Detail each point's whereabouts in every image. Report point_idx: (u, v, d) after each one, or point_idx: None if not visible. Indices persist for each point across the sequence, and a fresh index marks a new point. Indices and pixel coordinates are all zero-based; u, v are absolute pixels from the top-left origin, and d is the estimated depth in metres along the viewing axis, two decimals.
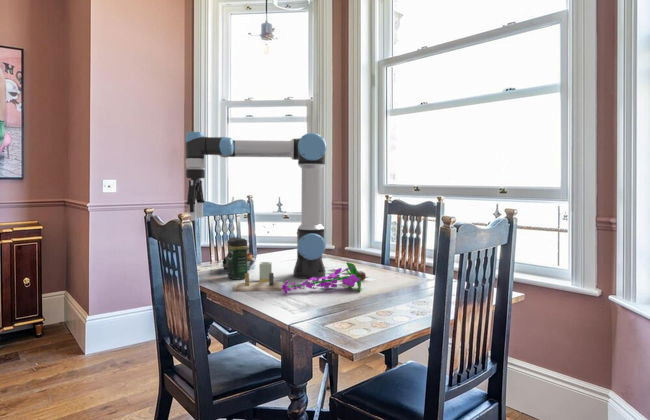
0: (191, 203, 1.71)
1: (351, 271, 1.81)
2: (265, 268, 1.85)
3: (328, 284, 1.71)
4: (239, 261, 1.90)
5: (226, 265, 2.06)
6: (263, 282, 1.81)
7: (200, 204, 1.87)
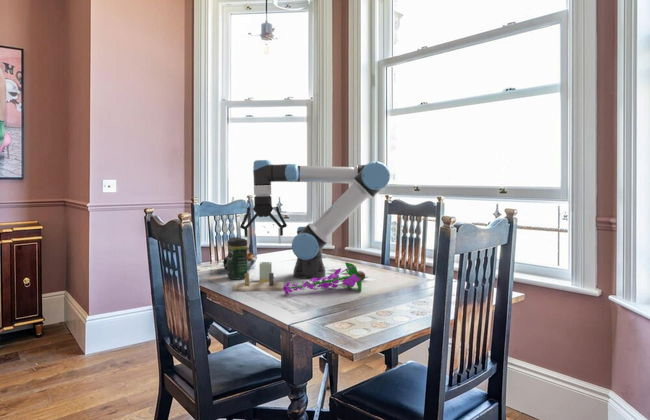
0: (242, 228, 1.85)
1: (350, 271, 1.80)
2: (265, 268, 1.85)
3: (329, 284, 1.70)
4: (239, 261, 1.90)
5: (227, 265, 2.06)
6: (263, 282, 1.81)
7: (278, 230, 1.87)
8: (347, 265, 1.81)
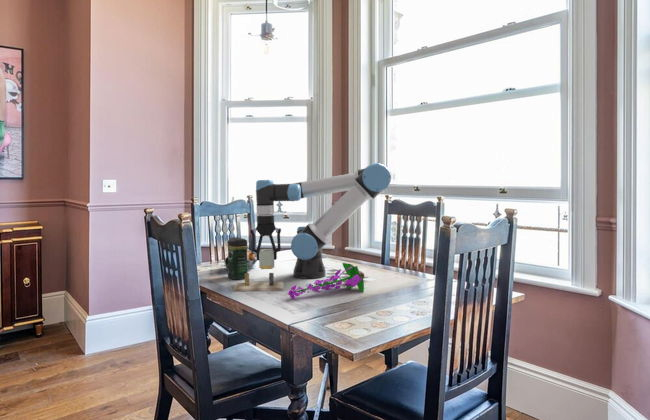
0: None
1: (347, 272, 1.80)
2: (266, 255, 1.85)
3: (332, 286, 1.67)
4: (239, 261, 1.90)
5: None
6: (263, 282, 1.81)
7: (272, 254, 1.87)
8: (345, 266, 1.80)
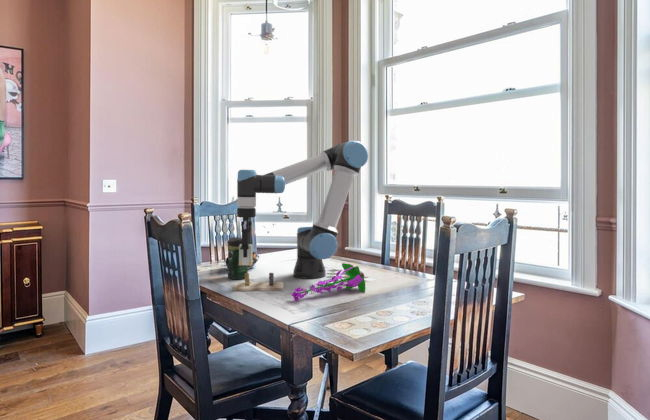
0: (245, 248, 1.69)
1: (347, 272, 1.79)
2: None
3: (334, 286, 1.66)
4: None
5: None
6: (263, 282, 1.81)
7: None
8: (344, 266, 1.79)
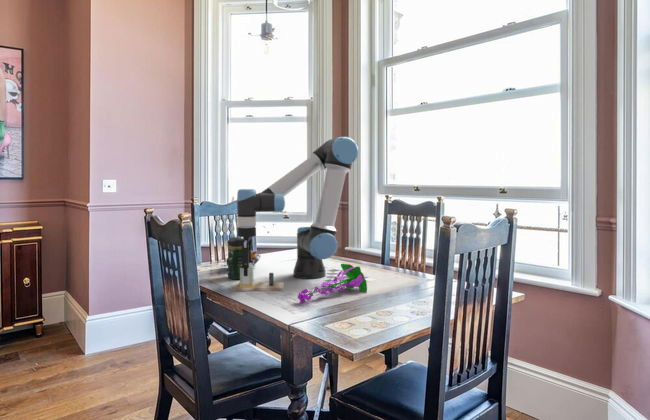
0: (245, 267, 1.68)
1: (346, 272, 1.78)
2: None
3: (337, 287, 1.65)
4: (239, 261, 1.90)
5: None
6: (263, 282, 1.81)
7: (249, 264, 1.80)
8: (343, 266, 1.78)
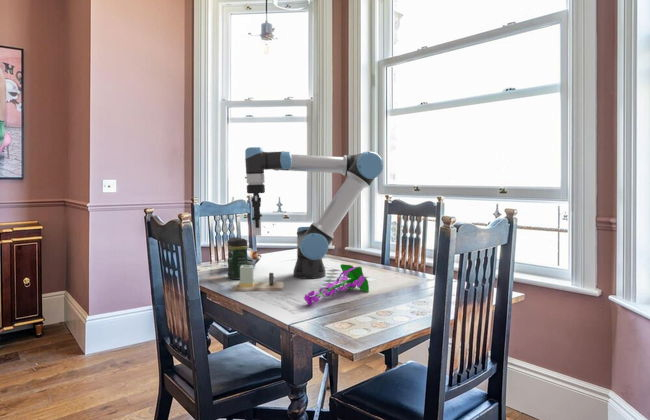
0: (257, 219, 1.72)
1: (346, 273, 1.77)
2: None
3: (341, 288, 1.64)
4: (239, 261, 1.90)
5: None
6: (263, 282, 1.81)
7: None
8: (343, 267, 1.77)
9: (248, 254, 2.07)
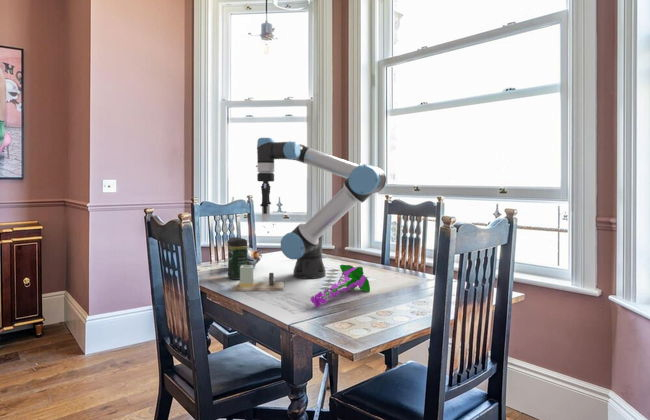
0: (265, 205, 1.82)
1: (345, 273, 1.77)
2: None
3: (344, 289, 1.63)
4: (239, 261, 1.90)
5: None
6: (263, 282, 1.81)
7: (267, 206, 1.98)
8: (342, 267, 1.76)
9: (249, 254, 2.08)
